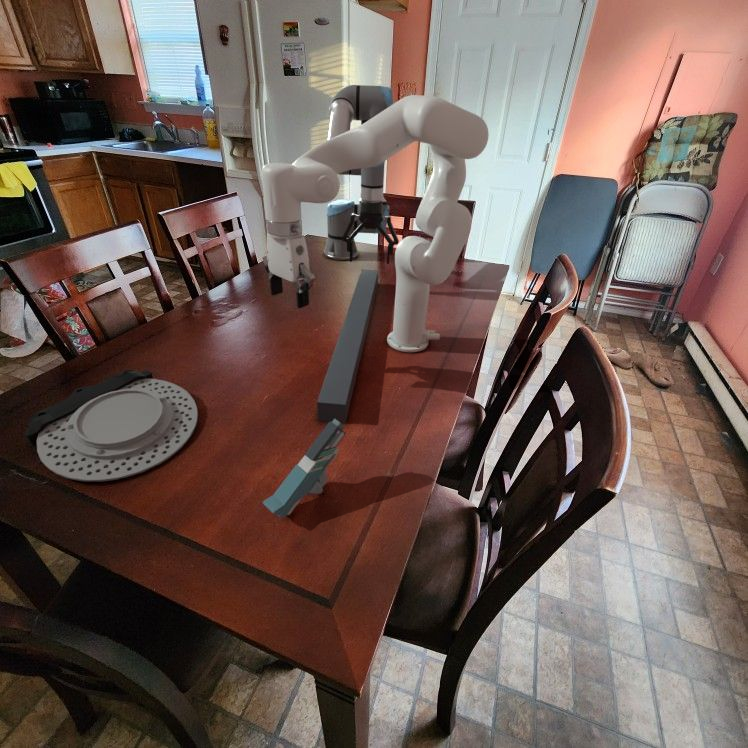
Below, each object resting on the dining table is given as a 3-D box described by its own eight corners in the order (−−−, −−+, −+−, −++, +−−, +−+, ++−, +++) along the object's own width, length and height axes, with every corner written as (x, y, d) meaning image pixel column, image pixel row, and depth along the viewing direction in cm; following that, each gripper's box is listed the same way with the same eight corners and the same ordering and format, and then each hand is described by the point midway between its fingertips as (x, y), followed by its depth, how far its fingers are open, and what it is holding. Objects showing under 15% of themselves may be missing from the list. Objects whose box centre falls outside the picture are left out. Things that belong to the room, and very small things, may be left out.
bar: (345, 423, 95) (345, 404, 92) (317, 420, 95) (316, 402, 92) (377, 283, 163) (378, 270, 159) (361, 282, 163) (361, 269, 160)
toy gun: (362, 441, 81) (342, 423, 73) (302, 525, 77) (273, 515, 69) (349, 432, 83) (328, 413, 75) (290, 513, 79) (260, 502, 71)
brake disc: (18, 425, 89) (8, 408, 86) (155, 369, 108) (150, 354, 105) (75, 511, 73) (64, 493, 70) (224, 428, 92) (221, 411, 89)
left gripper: (408, 200, 142) (403, 260, 154) (336, 195, 143) (337, 255, 155) (408, 205, 135) (403, 267, 148) (333, 200, 137) (334, 262, 149)
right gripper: (324, 233, 87) (326, 306, 97) (273, 216, 96) (279, 285, 106) (297, 239, 83) (301, 316, 92) (246, 221, 92) (255, 293, 101)
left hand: (369, 261), depth 151 cm, fingers open, 13 cm apart
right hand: (289, 299), depth 99 cm, fingers open, 9 cm apart
